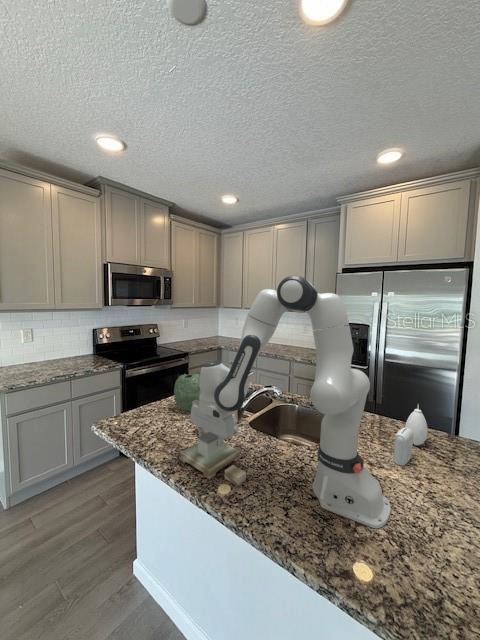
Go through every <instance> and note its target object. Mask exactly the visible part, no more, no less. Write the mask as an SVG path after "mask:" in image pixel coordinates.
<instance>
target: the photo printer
mask: <svg viewBox="0 0 480 640" xmlns="http://www.w3.org/2000/svg"><path fill="white" fill-rule="evenodd" d="M393 446H394V447H393V448H394V449H393V458H392V459H393V461H392V462H394V464H396V465H398V466H400V467H402V466H405V465H407V463H409V461H410V460H411V458H412V453H413V431H412V430H411V429H410V428H407V427H405V426H404V427H402V428H401V429H398V431H397V433H396V434H395V436H394V445H393Z"/></svg>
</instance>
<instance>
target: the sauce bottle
mask: <svg viewBox="0 0 480 640" xmlns="http://www.w3.org/2000/svg"><path fill="white" fill-rule="evenodd" d="M419 405H420V404H419V403H417V408H415V409H413V411H412V412H411V413H410V415H409V416H408V418H407V420H406V422H405V425H404V428H405V427H407V428H410V429H411V430H412V431H413V444H414V445H413V444H412V445H413V446H421V445H423V444H424V443H425V441H426V439H427V438H428V423H427V421H426V418H425V416H424V414H423V412H422V410H421V409H419V407H420V406H419Z"/></svg>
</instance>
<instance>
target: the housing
mask: <svg viewBox="0 0 480 640" xmlns="http://www.w3.org/2000/svg"><path fill="white" fill-rule="evenodd" d="M219 440H220V439H219V436H218V435H215V434H213V433H211V432H208V433H206V434H204V435H202V436H200V437H199V436H198V440H197V441H198V442H197V443H198V453H199V454H201V455H203V456H204V457H206V458H209V457H211V456H212V455H214V454H216V453H217V452H219V451H221V450H222V449H223V445H222V446H221V447H218V446H217V441H219Z"/></svg>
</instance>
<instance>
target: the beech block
mask: <svg viewBox="0 0 480 640" xmlns="http://www.w3.org/2000/svg"><path fill="white" fill-rule="evenodd" d="M224 479H225V480H226V481H228V482H230V483H231V484H234V485H235V486H237V487H240V486H241V485H242V484H243V483H244V482H246V481H247V472H246V471H245V470H242V469H240V468H239V467H237V466H236V465H233V464H232V465H231V466H229V467H228V468H226V469H225V470H224Z"/></svg>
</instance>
